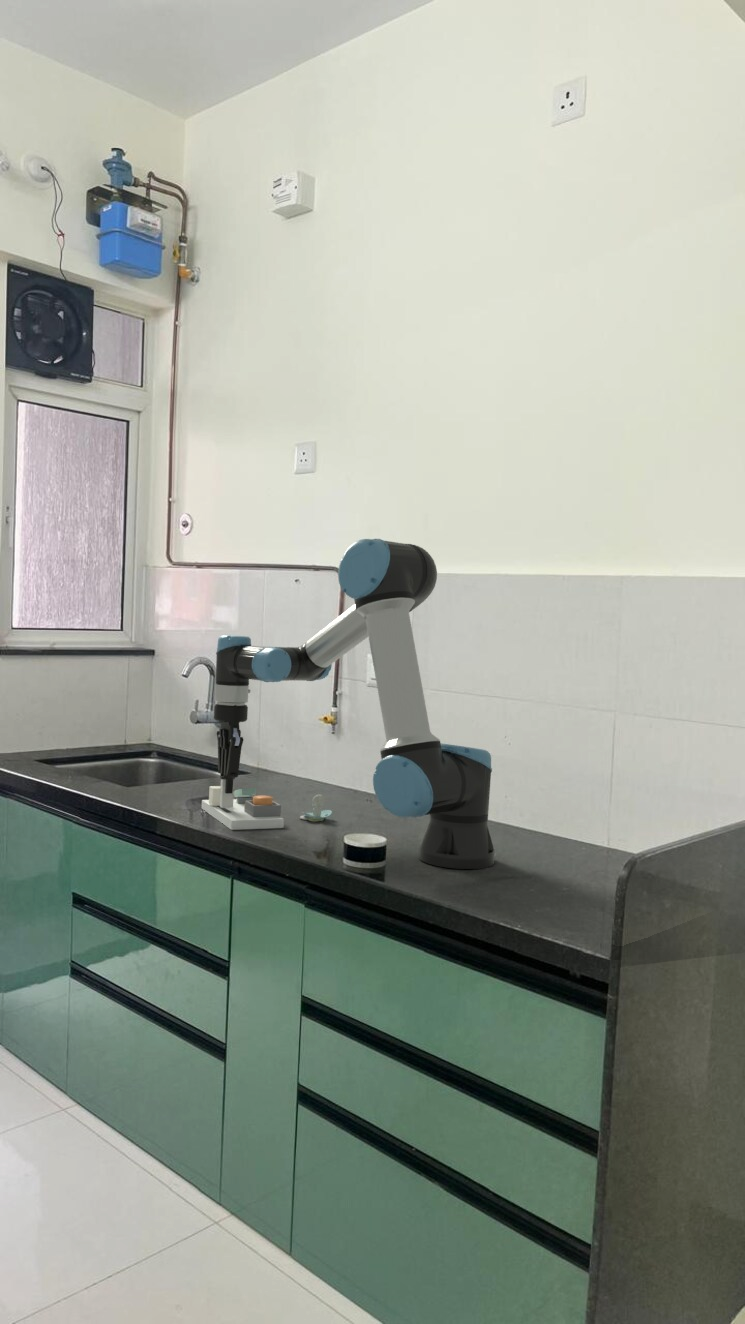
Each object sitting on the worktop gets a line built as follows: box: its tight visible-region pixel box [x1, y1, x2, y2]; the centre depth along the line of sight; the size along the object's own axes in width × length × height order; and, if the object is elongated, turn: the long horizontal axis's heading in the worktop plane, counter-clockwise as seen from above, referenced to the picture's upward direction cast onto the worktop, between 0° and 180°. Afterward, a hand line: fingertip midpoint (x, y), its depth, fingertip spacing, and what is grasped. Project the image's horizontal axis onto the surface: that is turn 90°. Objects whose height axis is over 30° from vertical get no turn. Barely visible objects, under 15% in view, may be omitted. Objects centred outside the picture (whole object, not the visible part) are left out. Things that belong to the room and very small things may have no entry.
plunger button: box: [252, 794, 274, 805], centre depth 228 cm, size 4×4×3 cm
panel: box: [201, 796, 285, 831], centre depth 232 cm, size 24×12×4 cm, turn 25°
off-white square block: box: [208, 785, 221, 806], centre depth 234 cm, size 3×4×4 cm
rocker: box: [234, 787, 258, 798], centre depth 239 cm, size 6×4×1 cm, turn 25°
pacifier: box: [299, 794, 333, 822], centre depth 235 cm, size 7×6×6 cm
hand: (226, 806), depth 230 cm, fingers closed
